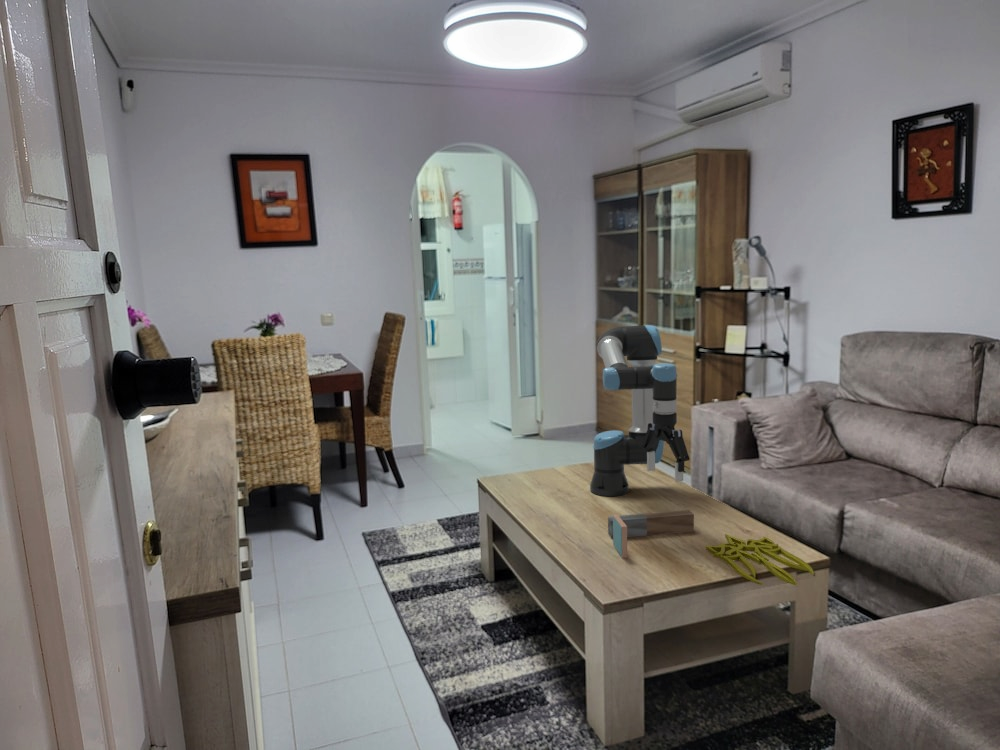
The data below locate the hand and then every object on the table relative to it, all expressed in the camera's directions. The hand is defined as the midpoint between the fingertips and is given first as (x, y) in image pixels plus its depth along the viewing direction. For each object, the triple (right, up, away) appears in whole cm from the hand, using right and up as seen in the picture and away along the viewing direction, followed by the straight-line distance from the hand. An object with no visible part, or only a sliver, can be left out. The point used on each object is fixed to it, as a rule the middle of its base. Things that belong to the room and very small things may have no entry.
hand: (664, 475), depth 220 cm
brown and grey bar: (-4, -20, +5) cm, 20 cm away
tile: (-16, -22, -9) cm, 29 cm away
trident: (+23, -23, -18) cm, 37 cm away
